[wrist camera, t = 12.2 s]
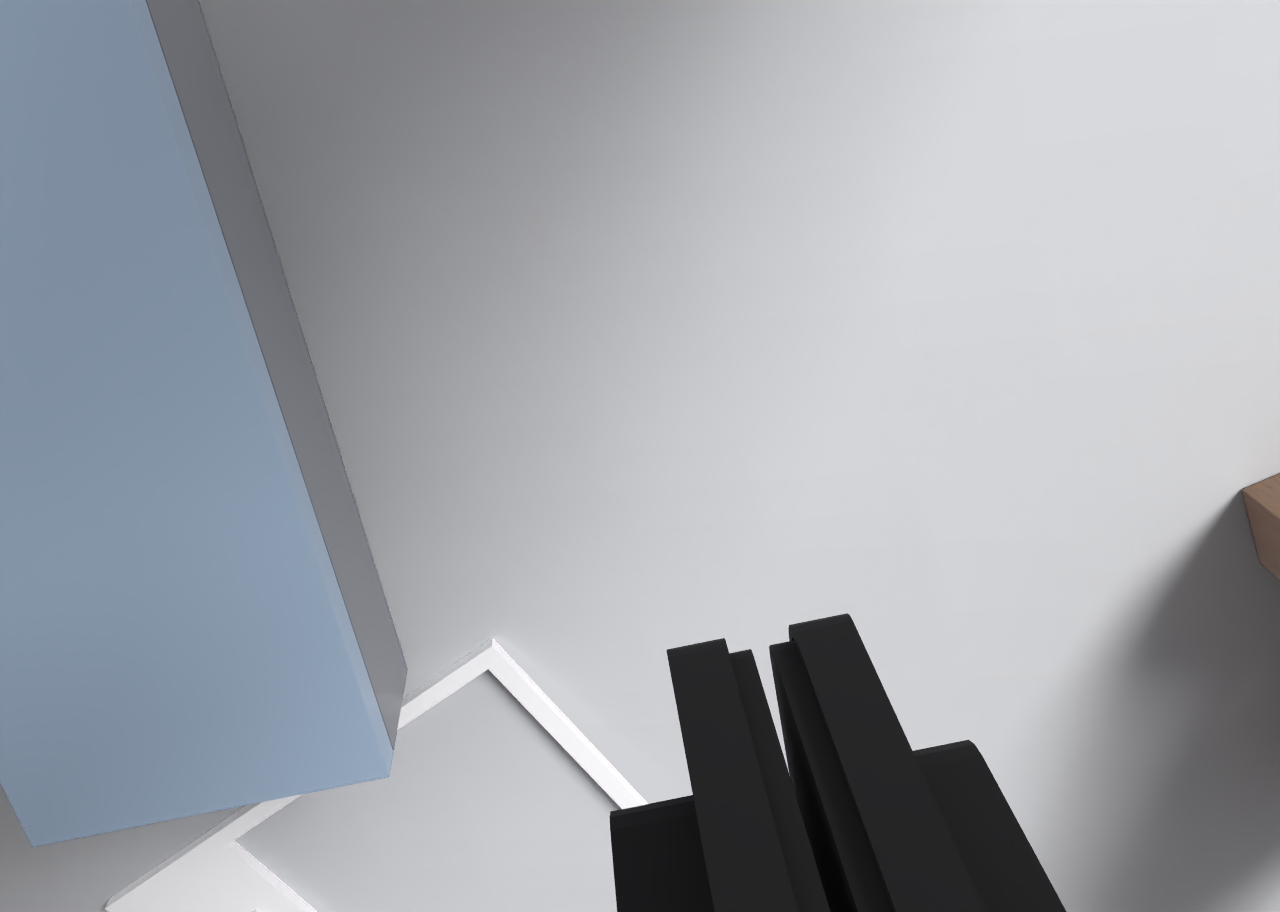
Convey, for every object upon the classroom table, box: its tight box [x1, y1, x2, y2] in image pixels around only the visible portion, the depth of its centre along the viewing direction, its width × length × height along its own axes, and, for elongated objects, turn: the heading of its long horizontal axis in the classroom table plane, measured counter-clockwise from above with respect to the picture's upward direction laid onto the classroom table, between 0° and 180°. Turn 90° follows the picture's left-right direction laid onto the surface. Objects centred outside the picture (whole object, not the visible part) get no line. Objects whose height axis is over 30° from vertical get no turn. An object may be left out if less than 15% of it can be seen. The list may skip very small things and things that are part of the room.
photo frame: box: [105, 638, 648, 912], centre depth 46 cm, size 15×1×18 cm
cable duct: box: [146, 0, 407, 750], centre depth 35 cm, size 26×11×4 cm, turn 10°
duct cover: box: [0, 0, 393, 847], centre depth 32 cm, size 26×12×2 cm, turn 10°
